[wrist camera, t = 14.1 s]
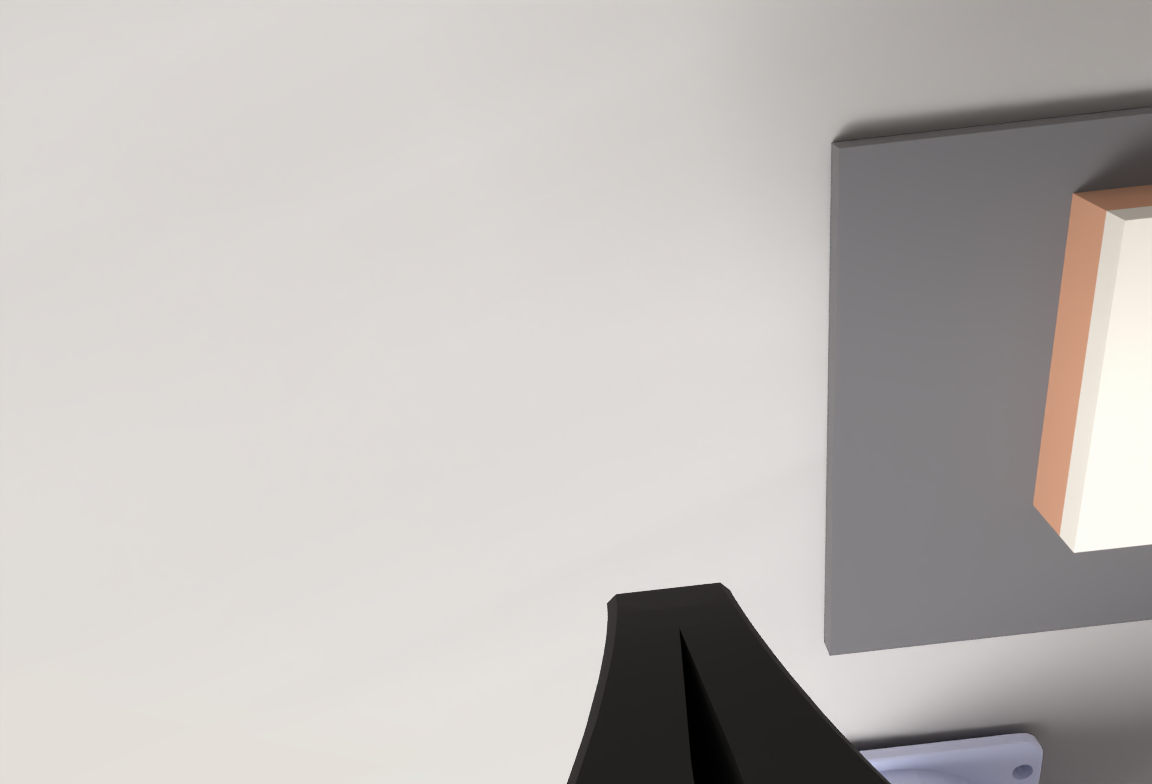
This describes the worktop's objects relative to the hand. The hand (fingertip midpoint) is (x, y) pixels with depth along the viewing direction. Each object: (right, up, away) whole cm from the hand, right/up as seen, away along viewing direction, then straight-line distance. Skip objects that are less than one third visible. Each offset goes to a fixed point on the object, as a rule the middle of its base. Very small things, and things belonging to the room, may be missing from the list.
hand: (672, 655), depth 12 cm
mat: (+10, +3, +10) cm, 14 cm away
